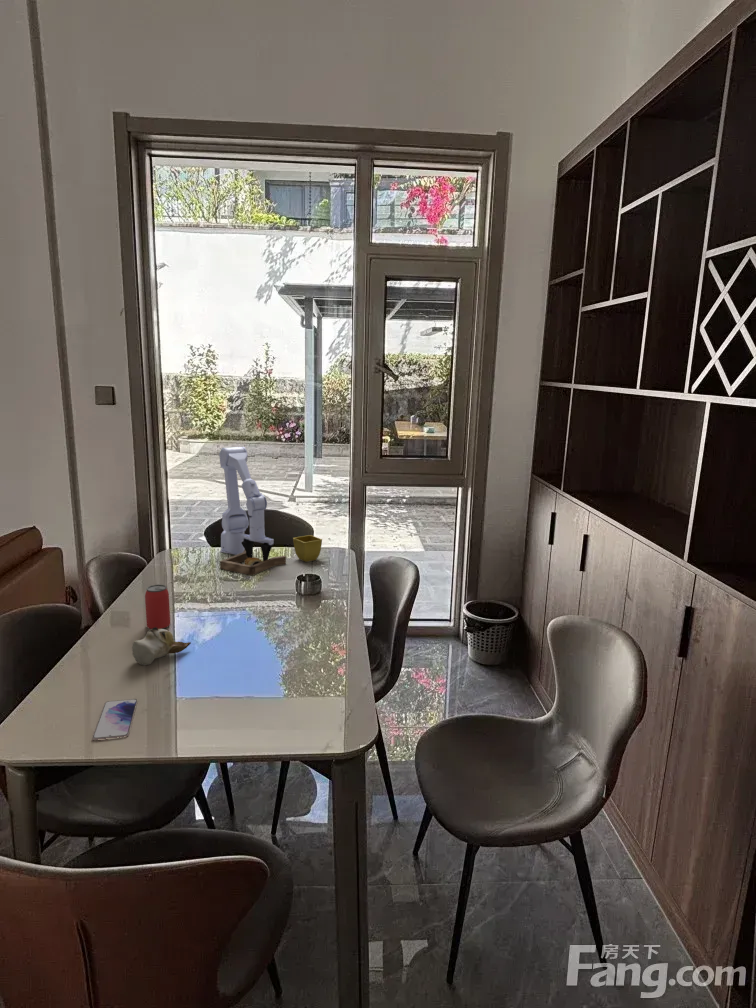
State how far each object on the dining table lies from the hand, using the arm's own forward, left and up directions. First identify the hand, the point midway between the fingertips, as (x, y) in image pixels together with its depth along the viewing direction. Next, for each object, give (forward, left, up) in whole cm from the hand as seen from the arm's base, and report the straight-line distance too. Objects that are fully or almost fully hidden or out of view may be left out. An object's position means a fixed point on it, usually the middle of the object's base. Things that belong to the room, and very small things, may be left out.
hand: (257, 559), depth 240 cm
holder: (0, -4, -1) cm, 4 cm away
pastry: (+1, -4, -2) cm, 5 cm away
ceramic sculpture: (+28, -78, -2) cm, 83 cm away
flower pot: (+15, +14, -2) cm, 20 cm away
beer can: (+14, -63, -2) cm, 65 cm away
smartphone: (+44, -103, -2) cm, 112 cm away
